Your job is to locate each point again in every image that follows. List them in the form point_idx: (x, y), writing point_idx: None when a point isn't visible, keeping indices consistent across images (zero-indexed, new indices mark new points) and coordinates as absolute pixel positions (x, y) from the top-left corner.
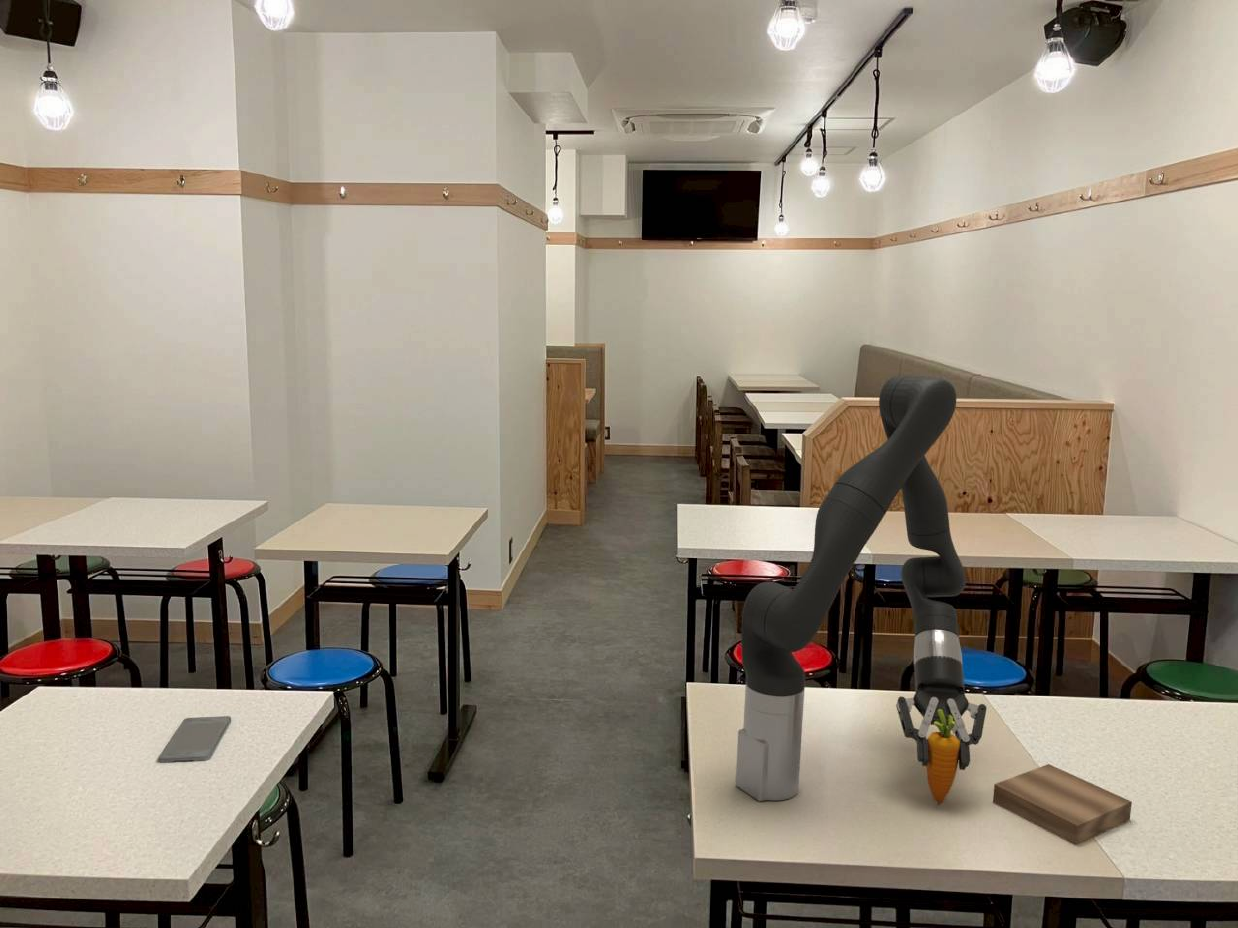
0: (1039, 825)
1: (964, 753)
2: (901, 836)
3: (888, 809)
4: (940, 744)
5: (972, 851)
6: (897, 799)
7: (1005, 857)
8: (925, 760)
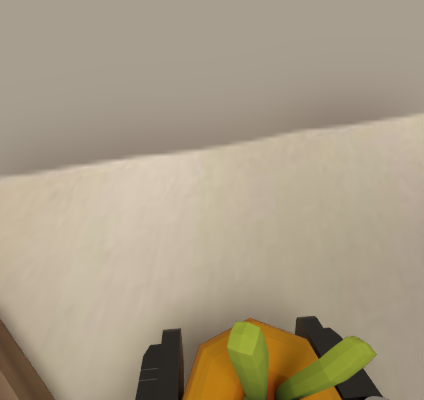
0: (7, 331)
1: (164, 364)
2: (295, 206)
3: (334, 300)
4: (278, 331)
5: (178, 193)
6: None
7: (126, 190)
8: (309, 316)
